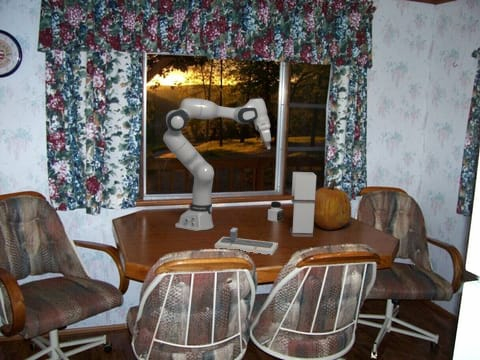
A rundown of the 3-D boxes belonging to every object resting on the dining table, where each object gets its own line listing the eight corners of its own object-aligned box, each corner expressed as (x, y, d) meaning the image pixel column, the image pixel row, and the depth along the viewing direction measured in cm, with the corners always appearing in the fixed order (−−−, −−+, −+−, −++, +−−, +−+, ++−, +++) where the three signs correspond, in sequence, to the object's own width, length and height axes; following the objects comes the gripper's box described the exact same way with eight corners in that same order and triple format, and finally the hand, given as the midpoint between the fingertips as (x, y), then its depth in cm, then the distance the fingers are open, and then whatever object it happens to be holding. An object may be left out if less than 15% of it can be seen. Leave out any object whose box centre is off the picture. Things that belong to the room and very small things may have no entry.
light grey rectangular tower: (309, 231, 264) (312, 172, 258) (312, 236, 254) (316, 175, 248) (289, 230, 264) (292, 172, 258) (292, 236, 253) (295, 175, 247)
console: (214, 248, 229) (214, 242, 229) (223, 240, 242) (223, 234, 242) (272, 255, 221) (272, 249, 221) (277, 246, 234) (278, 241, 234)
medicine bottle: (276, 222, 282) (277, 203, 280) (267, 220, 286) (268, 201, 284) (282, 220, 288) (283, 201, 286) (273, 218, 292) (274, 200, 290)
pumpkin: (322, 219, 291) (325, 174, 286) (355, 226, 277) (359, 179, 272) (301, 227, 271) (304, 178, 266) (335, 235, 257) (339, 184, 252)
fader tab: (228, 242, 231) (228, 230, 230) (231, 240, 236) (231, 227, 235) (236, 243, 230) (236, 230, 229) (238, 240, 235) (239, 228, 234)
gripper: (255, 124, 272) (260, 146, 275) (259, 128, 252) (264, 151, 255) (265, 121, 272) (270, 143, 275) (270, 125, 252) (275, 148, 255)
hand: (267, 147), depth 265 cm, fingers open, 8 cm apart
